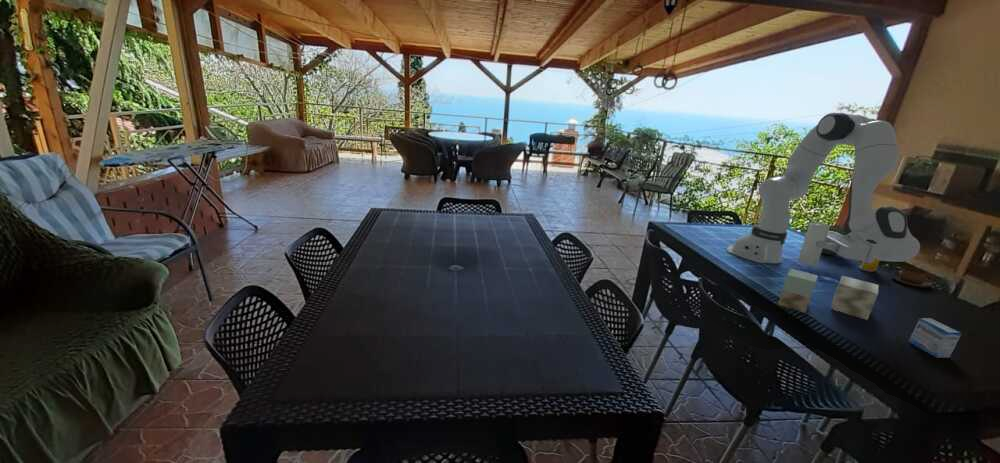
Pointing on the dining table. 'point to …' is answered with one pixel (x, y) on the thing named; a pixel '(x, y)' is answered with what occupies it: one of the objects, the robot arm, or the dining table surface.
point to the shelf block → (855, 297)
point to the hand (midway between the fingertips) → (811, 240)
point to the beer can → (869, 265)
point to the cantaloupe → (839, 230)
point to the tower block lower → (794, 301)
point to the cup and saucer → (913, 277)
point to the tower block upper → (800, 283)
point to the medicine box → (934, 338)
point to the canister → (813, 243)
